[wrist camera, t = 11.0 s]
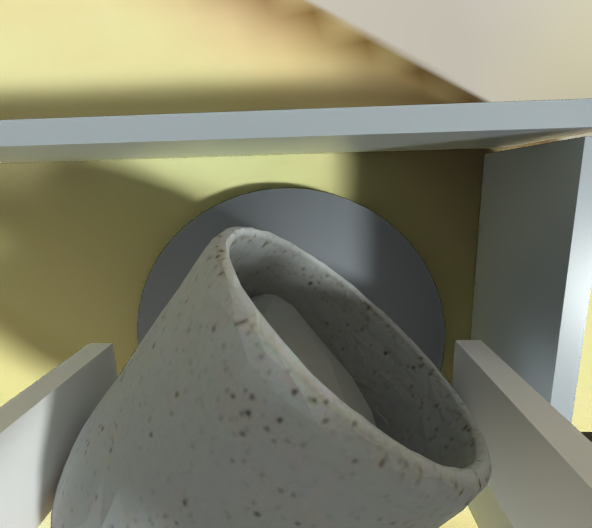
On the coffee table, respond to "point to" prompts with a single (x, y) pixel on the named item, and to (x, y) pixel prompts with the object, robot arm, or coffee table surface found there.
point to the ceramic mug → (273, 410)
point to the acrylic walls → (406, 137)
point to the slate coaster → (324, 247)
